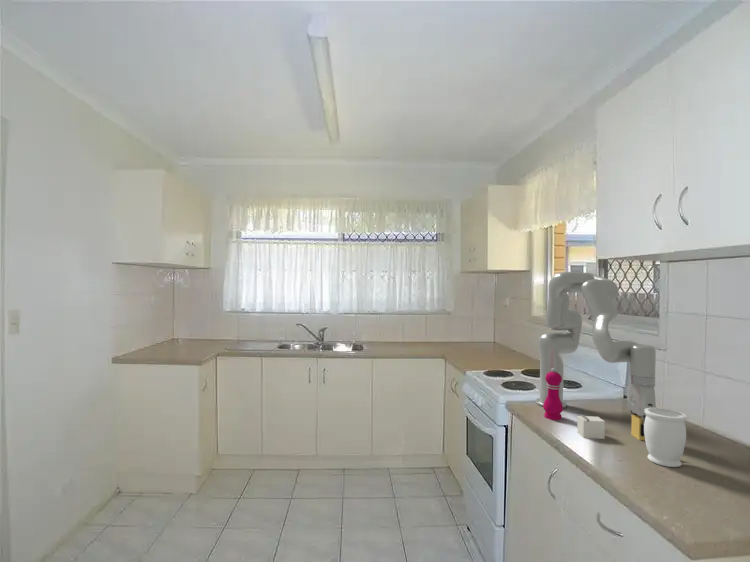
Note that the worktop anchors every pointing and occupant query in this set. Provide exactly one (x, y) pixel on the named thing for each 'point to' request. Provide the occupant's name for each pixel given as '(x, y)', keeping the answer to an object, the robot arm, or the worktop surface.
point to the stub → (637, 427)
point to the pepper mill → (553, 396)
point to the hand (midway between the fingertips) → (641, 432)
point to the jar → (665, 436)
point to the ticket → (591, 427)
